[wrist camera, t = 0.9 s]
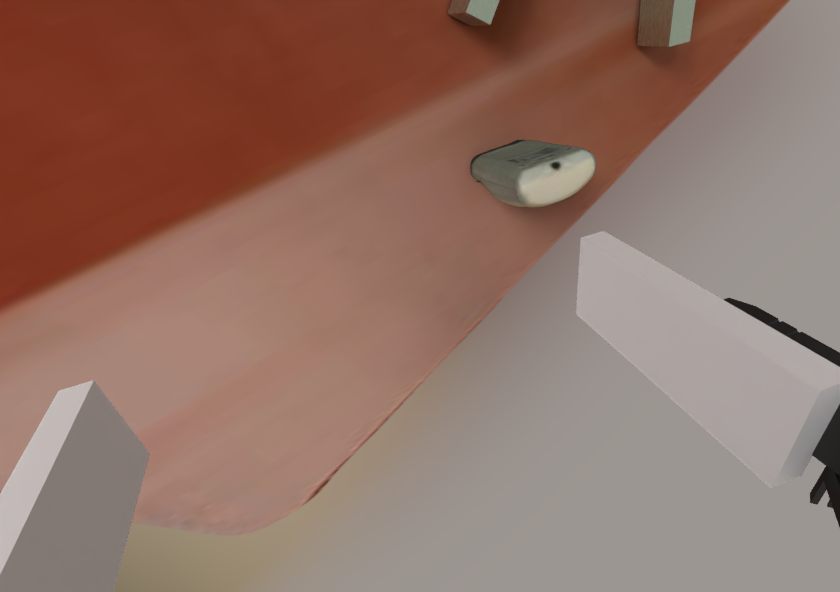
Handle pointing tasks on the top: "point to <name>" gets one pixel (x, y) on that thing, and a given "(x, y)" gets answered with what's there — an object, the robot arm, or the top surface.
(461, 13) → the tong arm
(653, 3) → the base
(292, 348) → the top surface
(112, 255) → the top surface
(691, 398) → the robot arm
